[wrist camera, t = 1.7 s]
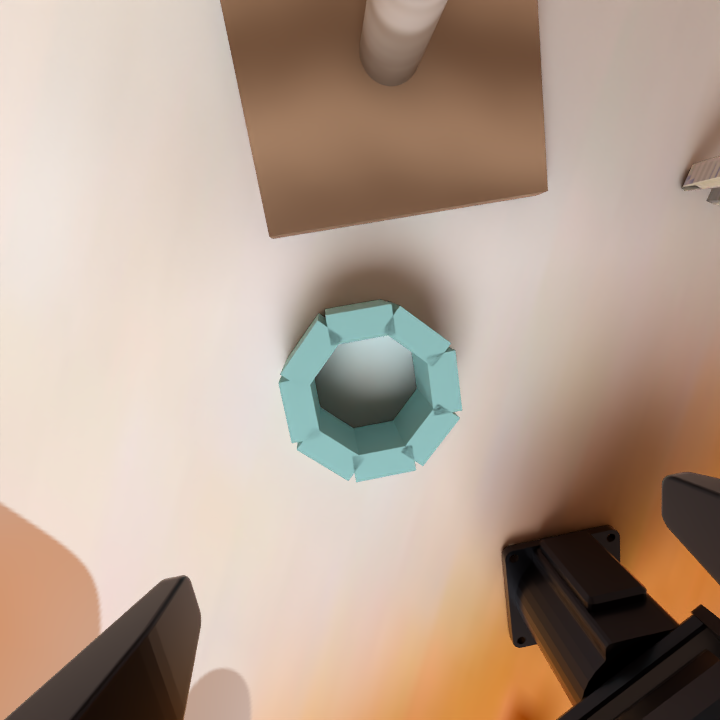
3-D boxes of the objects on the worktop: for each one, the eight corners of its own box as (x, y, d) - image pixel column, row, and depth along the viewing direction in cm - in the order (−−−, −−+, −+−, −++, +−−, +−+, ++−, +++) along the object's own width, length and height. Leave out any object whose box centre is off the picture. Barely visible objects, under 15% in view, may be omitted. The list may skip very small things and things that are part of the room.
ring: (446, 433, 20) (467, 460, 17) (306, 460, 20) (302, 492, 17) (428, 290, 18) (448, 293, 15) (275, 317, 18) (265, 325, 15)
